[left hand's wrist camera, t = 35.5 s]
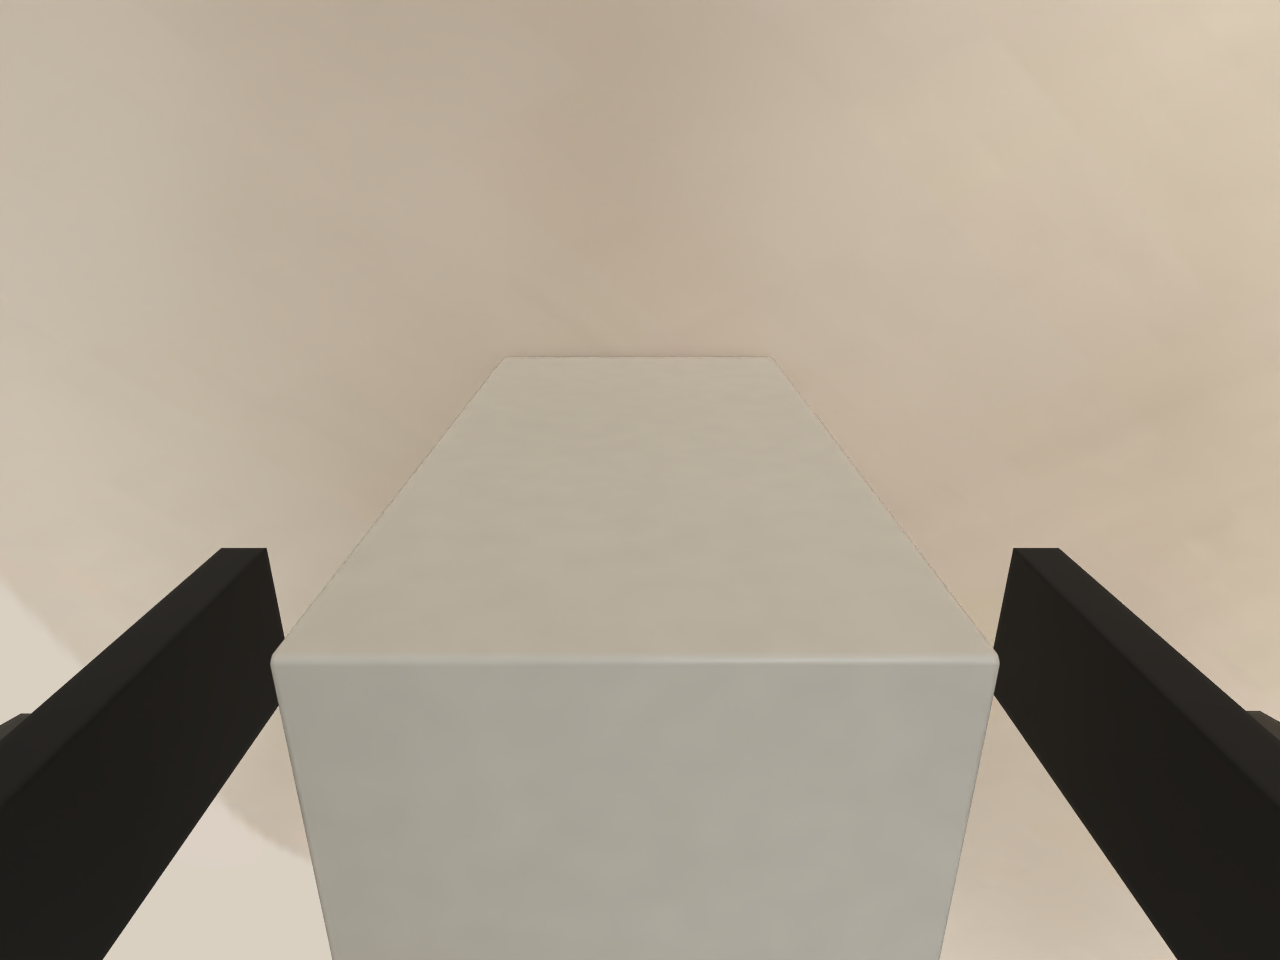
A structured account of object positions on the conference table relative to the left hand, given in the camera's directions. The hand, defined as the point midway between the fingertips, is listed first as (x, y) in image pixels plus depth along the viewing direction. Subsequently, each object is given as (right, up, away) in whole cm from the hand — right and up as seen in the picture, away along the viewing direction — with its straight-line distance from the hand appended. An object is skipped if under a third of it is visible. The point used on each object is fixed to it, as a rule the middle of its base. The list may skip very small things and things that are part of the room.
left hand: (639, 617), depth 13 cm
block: (0, +2, +5) cm, 6 cm away
